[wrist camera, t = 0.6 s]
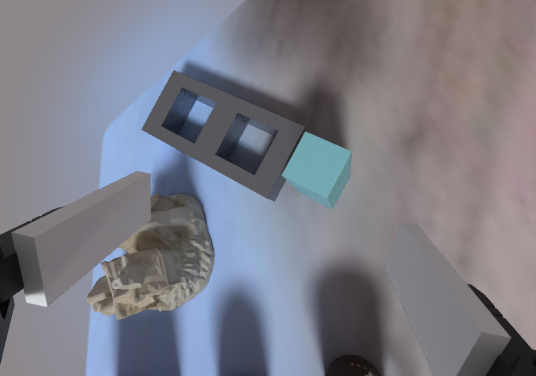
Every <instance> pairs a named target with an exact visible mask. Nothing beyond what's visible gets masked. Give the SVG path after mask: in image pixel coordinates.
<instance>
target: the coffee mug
mask: <svg viewBox="0 0 536 376" xmlns="http://www.w3.org/2000/svg"><path fill="white" fill-rule="evenodd" d="M326 376H380V374H379V373H378V371H377V370H376V368H375V367H374V366H373V365H372V364H371V363H370V362H368V361H367V360H365V359H363V358H361V357H358V356H355V355H345V356H342V357H339V358H337V359H336V360H334V361H333V363H332V364H331V365H330V367H329V368H328V371H327V373H326Z"/></svg>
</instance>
